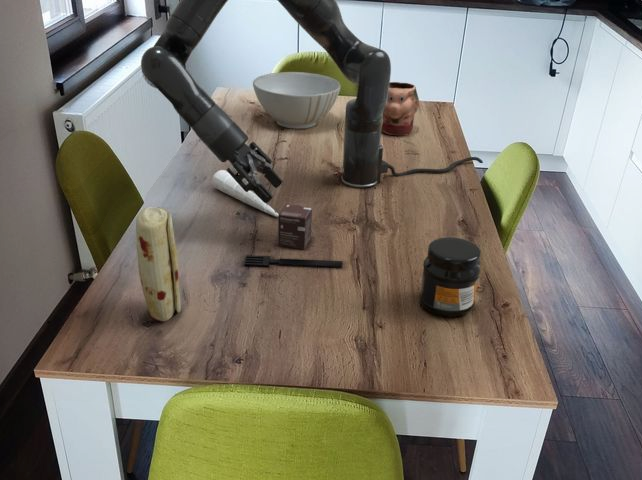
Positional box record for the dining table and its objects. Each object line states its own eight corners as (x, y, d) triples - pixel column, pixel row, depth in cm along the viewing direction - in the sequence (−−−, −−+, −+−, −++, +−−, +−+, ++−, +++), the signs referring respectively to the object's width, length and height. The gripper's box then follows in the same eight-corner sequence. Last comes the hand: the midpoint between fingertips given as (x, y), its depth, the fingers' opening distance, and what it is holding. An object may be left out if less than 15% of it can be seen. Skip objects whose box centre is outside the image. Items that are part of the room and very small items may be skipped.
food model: (148, 299, 132) (136, 199, 120) (184, 299, 132) (175, 199, 121) (141, 328, 124) (127, 223, 112) (180, 327, 124) (170, 224, 113)
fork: (341, 261, 148) (342, 259, 147) (341, 270, 144) (342, 268, 144) (246, 257, 147) (246, 255, 147) (244, 266, 144) (244, 264, 144)
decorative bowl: (338, 138, 211) (340, 97, 204) (249, 134, 211) (248, 92, 204) (339, 112, 233) (340, 74, 226) (258, 108, 233) (257, 69, 226)
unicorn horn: (267, 223, 161) (266, 203, 158) (211, 189, 175) (210, 171, 173) (283, 218, 164) (283, 198, 161) (227, 185, 178) (226, 167, 175)
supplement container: (473, 322, 130) (483, 265, 123) (416, 315, 131) (423, 258, 124) (473, 294, 139) (484, 239, 132) (420, 287, 140) (427, 232, 133)
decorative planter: (378, 118, 229) (382, 74, 221) (416, 121, 228) (421, 77, 220) (375, 138, 213) (378, 91, 205) (415, 141, 212) (420, 94, 204)
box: (277, 245, 152) (277, 214, 148) (285, 234, 157) (285, 203, 153) (304, 249, 151) (305, 218, 147) (311, 237, 156) (312, 207, 152)
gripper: (220, 132, 135) (278, 195, 141) (241, 111, 147) (294, 170, 152) (196, 156, 139) (253, 216, 144) (218, 133, 151) (271, 190, 156)
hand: (274, 192), depth 148 cm, fingers open, 8 cm apart
